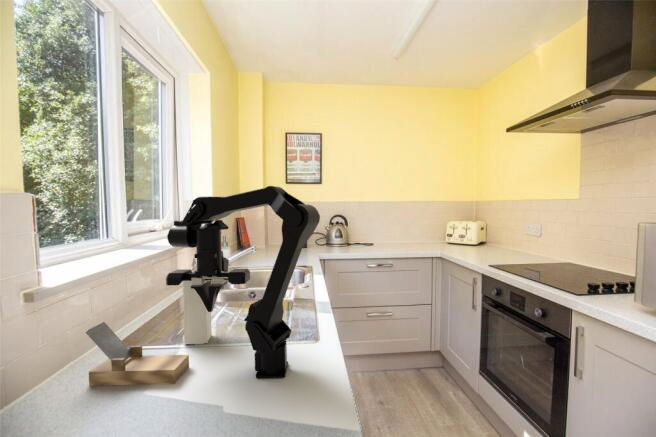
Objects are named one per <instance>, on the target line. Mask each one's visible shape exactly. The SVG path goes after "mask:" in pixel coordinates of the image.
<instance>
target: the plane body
mask: <svg viewBox="0 0 656 437" xmlns="http://www.w3.org/2000/svg"><path fill="white" fill-rule="evenodd" d="M129 350H130V351H131V352H132V353H133V355H132V356H131V357H129V358H128V359H127V360H126V361H125V358H114V359H112V360H110V359H109V358H108V357H107V359H105V360H104V361H102V362H101V363H100V364H97V365H96V366H95V367H93V368H92V369H91V370H89V371H88V386H90V387H91V386H96V387H97V386H134V385H135V386H136V385H137V386H138V385H145V386H147V385H175V384H176V383H177V382H178V381H179V380H180V379H181V377H183V375H184V374H185V373H186V371H187V370H188V369H189V368H190V356H189V355H190V354H160V355H156V354H155V355H153V354H152V355H143V345H131V346H129Z"/></svg>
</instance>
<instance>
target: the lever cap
mask: <svg viewBox="0 0 656 437" xmlns="http://www.w3.org/2000/svg"><path fill="white" fill-rule="evenodd" d="M85 334H87V336H88V338H90V339H91V340H92V342H94V344H95V345H96V346H97V347H98V348H99V349H100V351H102V353H103V354H104V355H105V356H106V357H107V359H108V358H109V359H110V360H112V359H114V358H125V361H126V360H127V359H128V358H129V357H131V356H132V355H133V353H132V352H131V351H130V348H128V346H127V345H126V344H125V343H124V342H123V341H122V340H121V338H119V336H117V334H116V333H115V332H114V331H113V329H112V328H111V327H110V326H108V324H106V322H105V321H103V322H101V323H99V324H97V325H95V326H93V327H90V328H89V329H88V330H86V331H85Z"/></svg>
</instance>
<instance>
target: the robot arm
mask: <svg viewBox="0 0 656 437" xmlns="http://www.w3.org/2000/svg"><path fill="white" fill-rule="evenodd" d="M268 206H270V208H271V209H272V211H273V212H274V213H275V215H277V216H278V217H279V218H280V219H282V223H281V235H282V236H281V237H282V241H281V245H280V247H279V251H278V252H277V253H278V254H277V256H276V259H275V262H274V265H273V266H272V269H271V273H270V276H269V279H268V282H267V284H266V287H265V290H264V293H263V296H262V298H261V299H259V300H256V301H255V302H253V303H251V304H250V305H249V307H248V313H247V315H246V317H245V318H244V319H243V320H244V322H245V326H244V329H245V332H246V333H247V335H248V339H249V342H250V345H251V347H252V348H251V349H252V351H255V352H254V371H255V378H256V379H267V378H269V379H271V378H272V379H275V378H276V379H278V378H285V377H286V375H287V369H288V366H289V361H288V355H287V351H288V350H287V348H288V346H287V340H288V339H290V337H291V334H292V329H291V328H290V327H289V326H288V324H287V323H286V322H285V321H284V319H283V317H284V313H285V311H284V299H285V296H286V295H287V294H286V293H287V291H288V288H289V286H290V283H291V280H292V277H293V275H294V272H295V269H296V266H297V264H298V261H299V258H300V255H301V252H302V250H303V247H304V245H305V244H306V243H307V242H308V241H309V239H310V238H311V237H312V235H313V234H314V232H315V230H316V228H317V227H318V225H319V223H320V220H321V215H320V213H319V210H317V209H318V208H316V207H315V206H313V205H312V204H305V202H303V201H302V200H300V199H298V198H296V197H295V196H293V195H291V194H290V193H288V192H287V191H286V190H285V189H283V188H282V187H280V186H274V185H269V186H266V187H263V188H258V189H254V190H251V191H250V190H249V191H245V192H240V193H235V194H231V195H226V196H196V197H194V198H193V200H192V202H191V205H190V207H189V209H188V211H187V212H186V214H185V216H184V217H183V219H182V220H174V221H173V226H171V227H170V228H169V231H168V233H167V235H166V236H167V241H168V243H169V245H170V246H172V247H174V248H188V249H189V248H191V249H192V248H196V249H195V250H196V252H195V253H194V254H193V256H194V259H196V263H197V271H195V273H193V272H192V271H193V270H192V269H191V268H190V269H189V268H188V269H186V268H185V269H175V270H174V271H171V272H169V273H168V274H167V275H166V278H165V281H166V282H165V285H166V286H179V285H181V283H182V284H183V281H192V286H191V289H195V291H196V292H197V293H198V295H199V296H200V298H201V300H202V301H203V303H204V305H205V307H206V309H207V311H208V312H211V313H212V312H213V310H214V308H215V305H216V302H217V299H218V295H219V293H220V292H221V289H222V288H223V287H224V286H226V285H227V284H228V283H230V285H245V284H247V283H248V282H249V281H250V279H251V271H250V269H249V268H233V269H231V270H230V271H229V265H230V264H229V259H228V258H226V257H224V250H222V230H229V228H230V227H229V225H228V224H226V223H224V221H223V219H224V218H227V217H228V216H230V215H231V214H233V213H235V212H240V211H241V212H242V211H246V210H252V209H256V208H257V209H258V208H261V207H268ZM228 271H229V272H228ZM203 276H205V277H203ZM206 276H207V277H206ZM208 280H210V281H208Z"/></svg>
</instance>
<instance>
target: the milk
mask: <svg viewBox="0 0 656 437" xmlns="http://www.w3.org/2000/svg"><path fill="white" fill-rule="evenodd" d="M195 271H197V262H196V263H195V264H194V265H193V270H192V272H193V273H195ZM203 277H205V276H203ZM206 277H207V276H206ZM208 281H211V280H208ZM191 286H192V281H183V282H182V294H183V295H182V296H183V298H182V299H183V300H182V301H183V305H182V306H183V338H184V339H183V341H184V343H183V344H184V346H187V345H186V344H195V345H205V344H204V343H207V344H208V343H209V340H210V338H211V337H212V312H208V311H207V309H206V307H205V305H204V303H203V301H202V300H201V298H200V296H199V295H198V293H197V292H196V291H195V289H191Z"/></svg>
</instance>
